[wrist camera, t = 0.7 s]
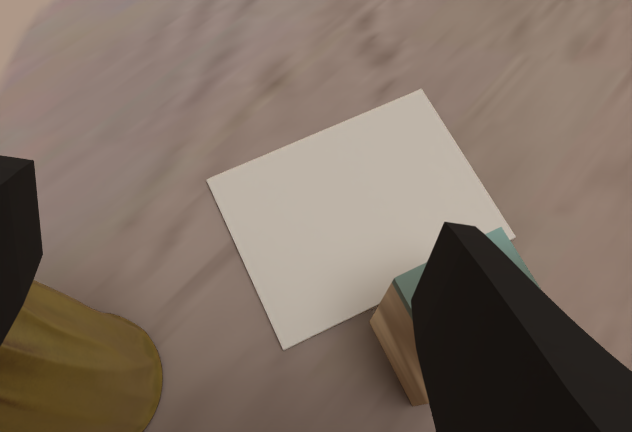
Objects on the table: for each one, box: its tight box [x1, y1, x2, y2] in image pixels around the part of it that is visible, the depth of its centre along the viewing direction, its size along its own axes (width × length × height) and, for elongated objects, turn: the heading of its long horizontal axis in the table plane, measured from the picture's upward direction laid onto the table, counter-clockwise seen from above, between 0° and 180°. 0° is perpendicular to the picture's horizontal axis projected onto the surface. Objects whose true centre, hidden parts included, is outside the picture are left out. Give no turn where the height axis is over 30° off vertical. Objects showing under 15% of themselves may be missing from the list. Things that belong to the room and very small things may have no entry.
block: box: [370, 227, 540, 406], centre depth 21 cm, size 4×4×8 cm
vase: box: [0, 280, 162, 432], centre depth 18 cm, size 6×6×14 cm
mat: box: [206, 89, 516, 350], centre depth 27 cm, size 9×12×1 cm
